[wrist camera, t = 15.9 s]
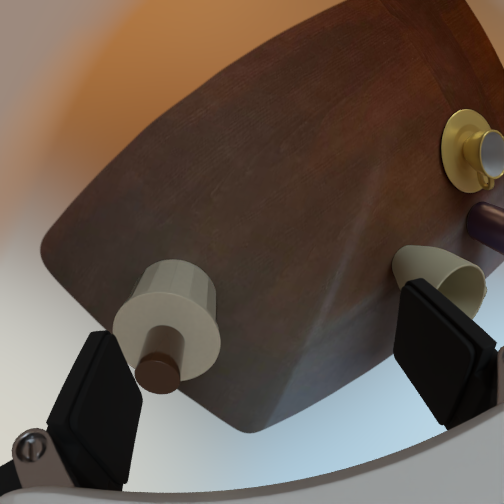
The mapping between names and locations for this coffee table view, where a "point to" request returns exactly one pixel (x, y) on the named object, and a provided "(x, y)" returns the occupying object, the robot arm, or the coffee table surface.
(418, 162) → the coffee table surface
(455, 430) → the robot arm
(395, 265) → the mug
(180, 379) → the lid
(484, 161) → the cup
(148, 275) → the pot
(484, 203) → the beverage can
